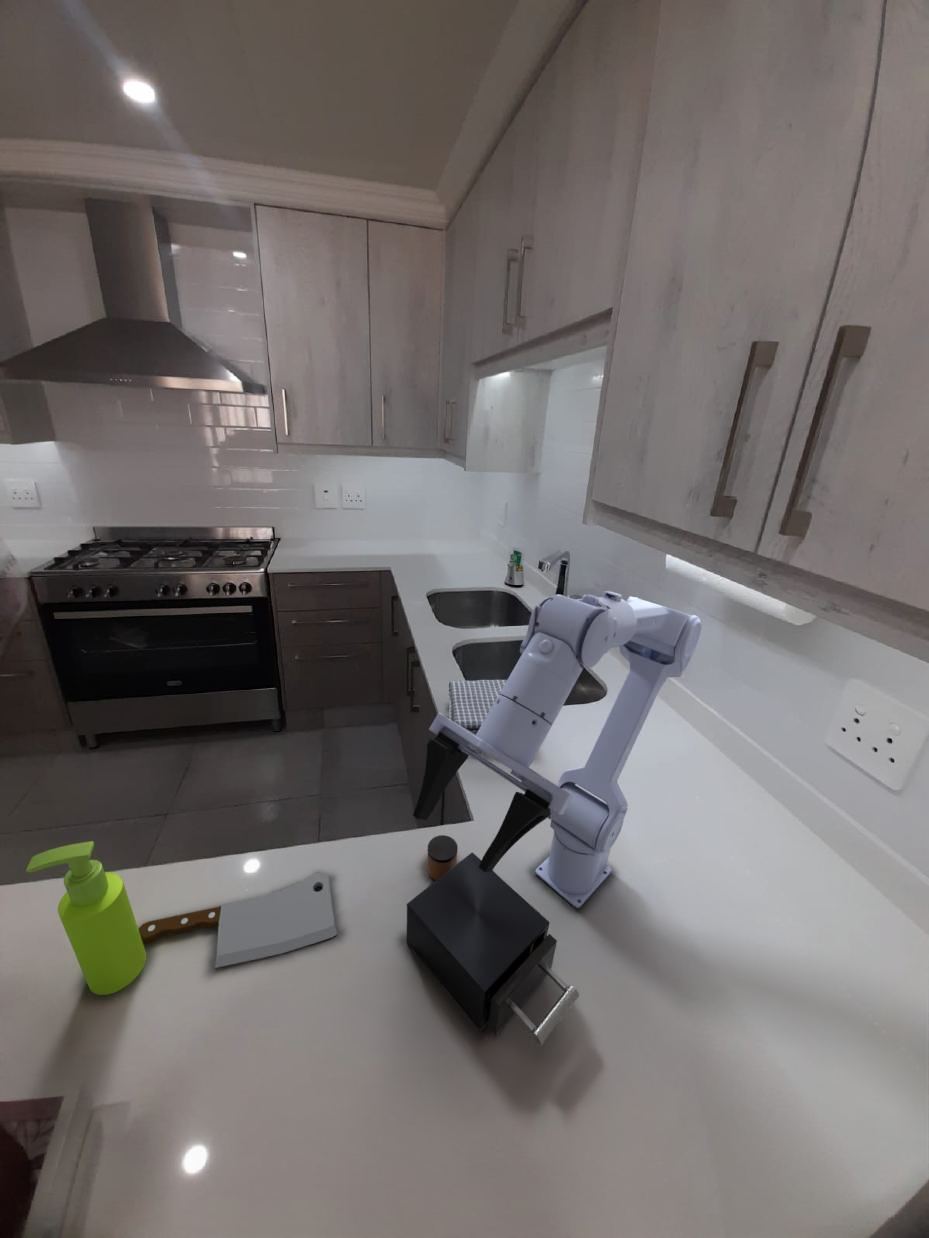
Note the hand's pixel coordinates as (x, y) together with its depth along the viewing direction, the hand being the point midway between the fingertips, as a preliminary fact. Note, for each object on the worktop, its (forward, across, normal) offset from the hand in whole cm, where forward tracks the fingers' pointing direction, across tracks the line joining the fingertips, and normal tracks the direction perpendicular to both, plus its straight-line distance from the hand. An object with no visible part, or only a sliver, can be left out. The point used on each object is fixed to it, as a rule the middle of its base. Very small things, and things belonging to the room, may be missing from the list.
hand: (450, 842), depth 44 cm
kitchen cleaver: (+29, -25, +16) cm, 41 cm away
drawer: (+15, +6, +25) cm, 30 cm away
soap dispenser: (+38, -32, +7) cm, 50 cm away
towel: (-10, -26, +58) cm, 65 cm away
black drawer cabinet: (+15, +1, +26) cm, 31 cm away
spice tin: (+11, -10, +32) cm, 36 cm away
